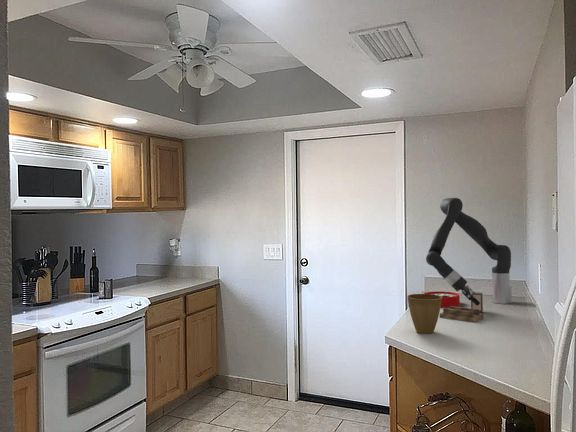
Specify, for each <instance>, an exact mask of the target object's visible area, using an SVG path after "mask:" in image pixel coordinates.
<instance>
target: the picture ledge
mask: <svg viewBox="0 0 576 432" xmlns="http://www.w3.org/2000/svg"><path fill="white" fill-rule="evenodd" d="M442 309H443V310H442V312H439V318H443V319H447V320H448V319H449V320H456V321H463V322H468V323H469V322H470V323H476V322H479V321H481V320H483V319H484V314H483V313H479V309H471V307H469V308H468V307H464V306H463V307H460V306H456V307H455V306H449V307H442Z"/></svg>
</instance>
